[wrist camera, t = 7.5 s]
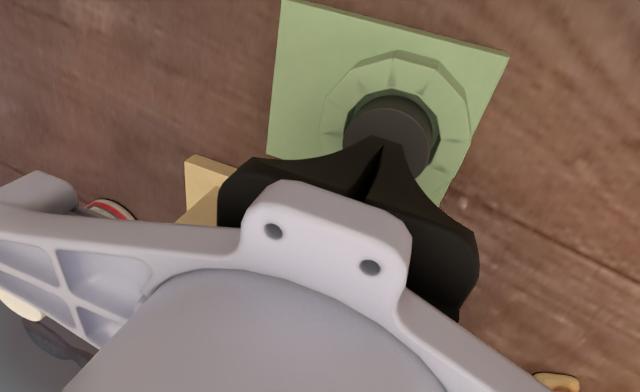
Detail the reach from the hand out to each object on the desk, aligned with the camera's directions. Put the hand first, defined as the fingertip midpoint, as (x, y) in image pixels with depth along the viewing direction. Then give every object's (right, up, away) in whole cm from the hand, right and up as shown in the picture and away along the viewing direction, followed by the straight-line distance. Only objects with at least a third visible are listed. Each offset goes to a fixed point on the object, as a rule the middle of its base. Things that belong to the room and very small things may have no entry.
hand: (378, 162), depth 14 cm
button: (+1, +2, +2) cm, 3 cm away
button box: (0, +3, +5) cm, 6 cm away
